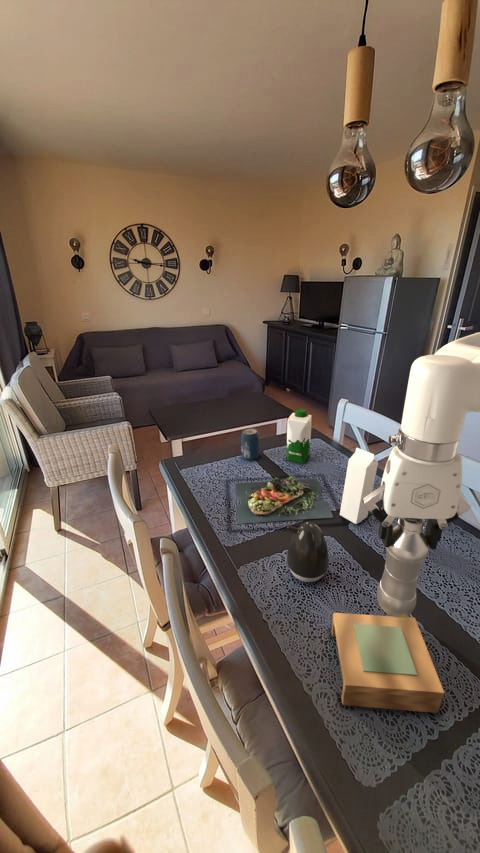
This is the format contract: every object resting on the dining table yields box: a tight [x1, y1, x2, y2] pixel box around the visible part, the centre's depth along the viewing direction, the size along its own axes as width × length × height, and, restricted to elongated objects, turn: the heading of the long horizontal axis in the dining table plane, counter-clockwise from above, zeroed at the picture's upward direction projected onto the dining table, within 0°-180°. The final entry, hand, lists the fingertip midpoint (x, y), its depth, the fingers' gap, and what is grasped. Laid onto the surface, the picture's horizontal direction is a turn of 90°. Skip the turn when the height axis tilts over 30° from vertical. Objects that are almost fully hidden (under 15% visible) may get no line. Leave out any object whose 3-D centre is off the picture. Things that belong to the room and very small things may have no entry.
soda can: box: [240, 427, 260, 462], centre depth 144 cm, size 7×7×12 cm
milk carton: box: [286, 408, 312, 464], centre depth 140 cm, size 9×9×20 cm
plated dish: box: [234, 476, 334, 525], centre depth 117 cm, size 35×28×7 cm
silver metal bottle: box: [376, 518, 430, 618], centre depth 61 cm, size 6×7×20 cm
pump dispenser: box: [286, 521, 330, 583], centre depth 88 cm, size 10×10×15 cm
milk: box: [339, 447, 379, 525], centre depth 106 cm, size 6×6×22 cm
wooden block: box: [331, 612, 445, 714], centre depth 68 cm, size 16×14×6 cm
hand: (407, 541), depth 58 cm, fingers closed on silver metal bottle, 6 cm apart
